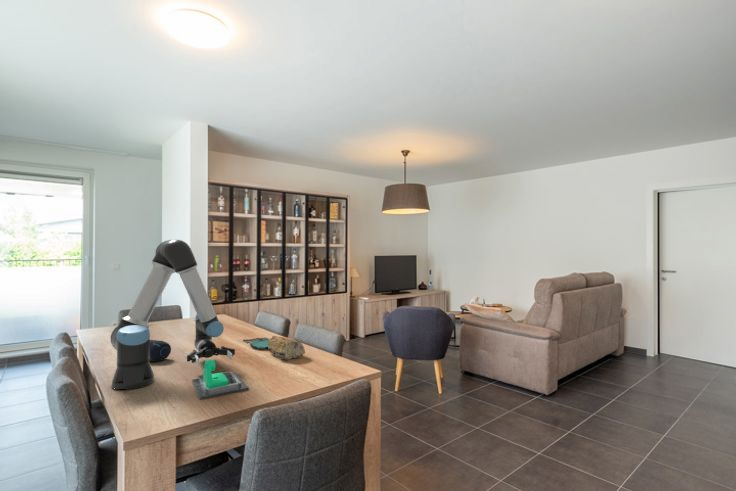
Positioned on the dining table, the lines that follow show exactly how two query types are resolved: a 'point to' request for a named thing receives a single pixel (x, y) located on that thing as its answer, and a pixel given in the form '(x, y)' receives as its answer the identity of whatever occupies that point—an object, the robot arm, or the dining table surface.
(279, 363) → the dining table surface
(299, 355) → the petrified wood
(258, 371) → the dining table surface
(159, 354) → the portable speaker
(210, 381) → the camera mount
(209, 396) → the plate
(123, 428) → the dining table surface
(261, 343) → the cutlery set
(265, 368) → the dining table surface
